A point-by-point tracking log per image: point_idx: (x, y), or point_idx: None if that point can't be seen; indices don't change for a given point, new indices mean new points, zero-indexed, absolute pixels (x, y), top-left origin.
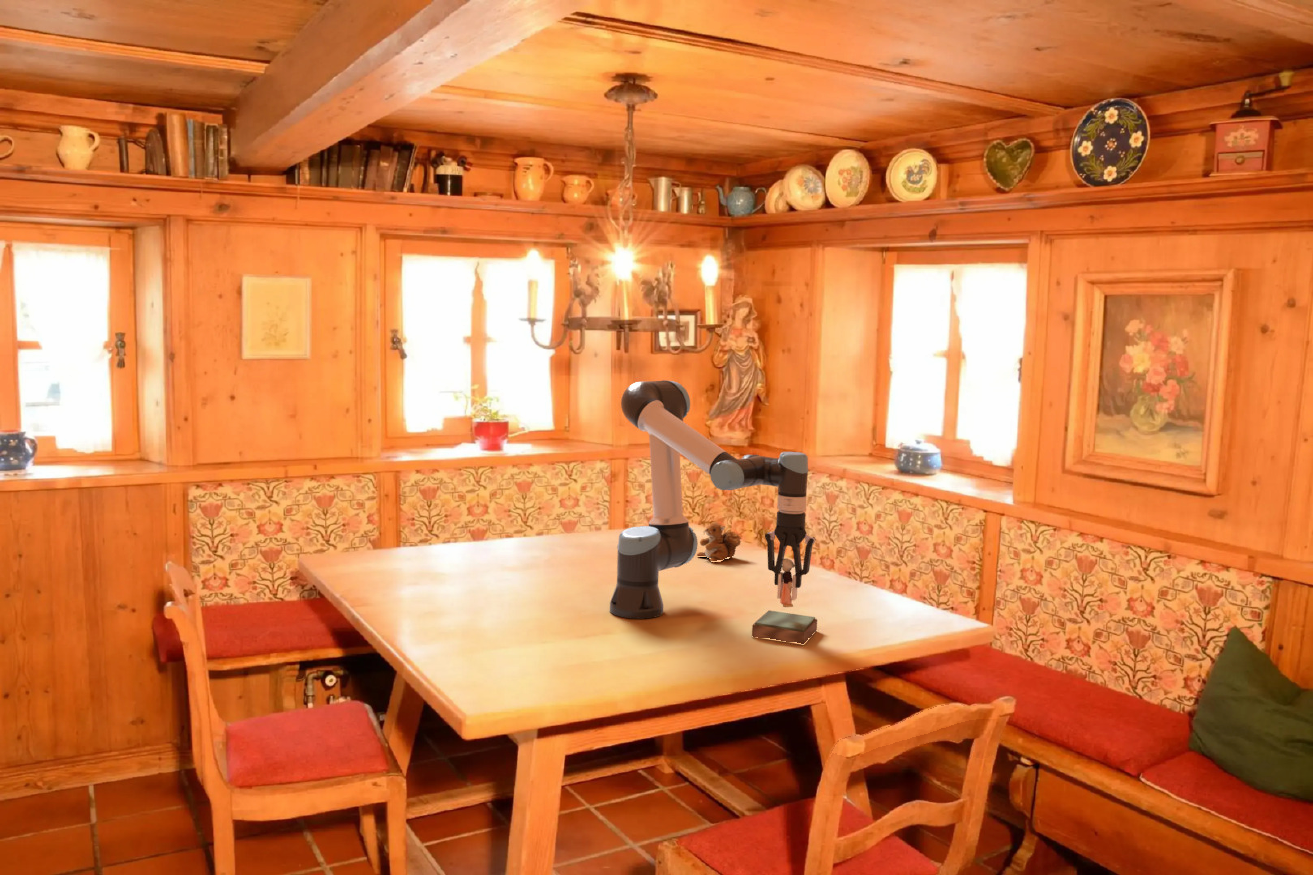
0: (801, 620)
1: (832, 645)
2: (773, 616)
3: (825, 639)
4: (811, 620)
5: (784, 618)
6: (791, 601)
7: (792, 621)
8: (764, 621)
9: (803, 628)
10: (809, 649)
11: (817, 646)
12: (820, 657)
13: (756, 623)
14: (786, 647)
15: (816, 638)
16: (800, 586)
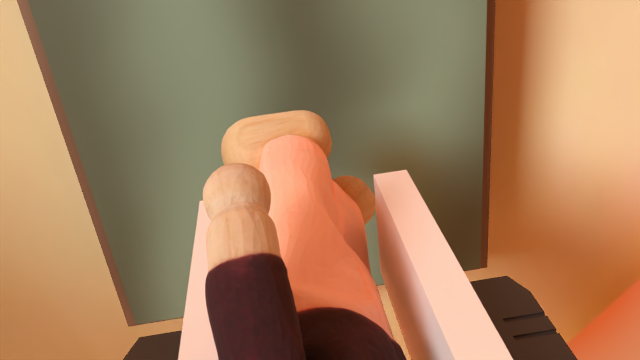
0: (407, 75)
1: (611, 119)
2: (163, 115)
3: (554, 29)
4: (481, 20)
5: (265, 108)
6: (364, 226)
7: (352, 143)
8: (176, 268)
9: (474, 245)
10: (500, 257)
11: (531, 189)
12: (573, 324)
13: (148, 318)
14: (382, 299)
15: (495, 46)
16: (510, 278)
